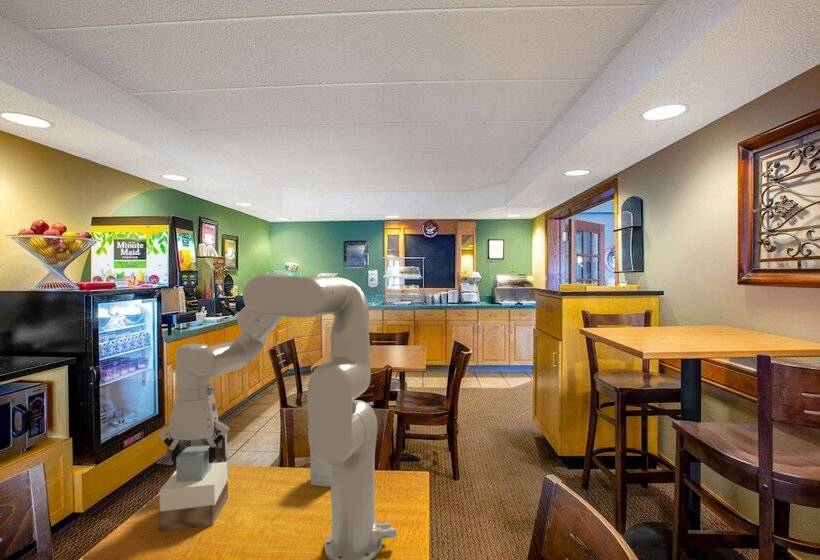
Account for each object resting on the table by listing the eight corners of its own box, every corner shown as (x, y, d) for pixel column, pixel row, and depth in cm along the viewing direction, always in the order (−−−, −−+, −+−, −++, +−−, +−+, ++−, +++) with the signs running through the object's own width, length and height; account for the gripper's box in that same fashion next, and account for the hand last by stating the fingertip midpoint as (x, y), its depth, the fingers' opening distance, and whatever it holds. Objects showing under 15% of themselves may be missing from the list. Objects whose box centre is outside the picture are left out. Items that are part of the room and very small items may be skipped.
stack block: (211, 468, 103) (211, 445, 103) (202, 480, 97) (201, 455, 97) (187, 469, 103) (187, 447, 103) (176, 481, 97) (176, 457, 97)
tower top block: (227, 480, 107) (227, 461, 107) (214, 505, 95) (214, 484, 95) (179, 485, 105) (178, 466, 105) (159, 511, 93) (159, 490, 93)
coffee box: (229, 473, 120) (228, 420, 120) (226, 483, 114) (225, 428, 114) (195, 478, 117) (194, 424, 117) (191, 489, 111) (190, 432, 111)
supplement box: (334, 487, 111) (333, 443, 111) (309, 485, 113) (309, 441, 113) (343, 474, 118) (343, 433, 118) (320, 472, 120) (320, 431, 120)
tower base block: (228, 499, 107) (227, 480, 107) (212, 526, 95) (212, 506, 95) (180, 503, 105) (180, 484, 105) (158, 532, 93) (158, 511, 93)
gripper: (234, 387, 105) (235, 453, 105) (164, 390, 103) (165, 458, 103) (225, 395, 98) (226, 466, 98) (149, 399, 95) (150, 472, 95)
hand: (195, 461), depth 100 cm, fingers open, 7 cm apart
